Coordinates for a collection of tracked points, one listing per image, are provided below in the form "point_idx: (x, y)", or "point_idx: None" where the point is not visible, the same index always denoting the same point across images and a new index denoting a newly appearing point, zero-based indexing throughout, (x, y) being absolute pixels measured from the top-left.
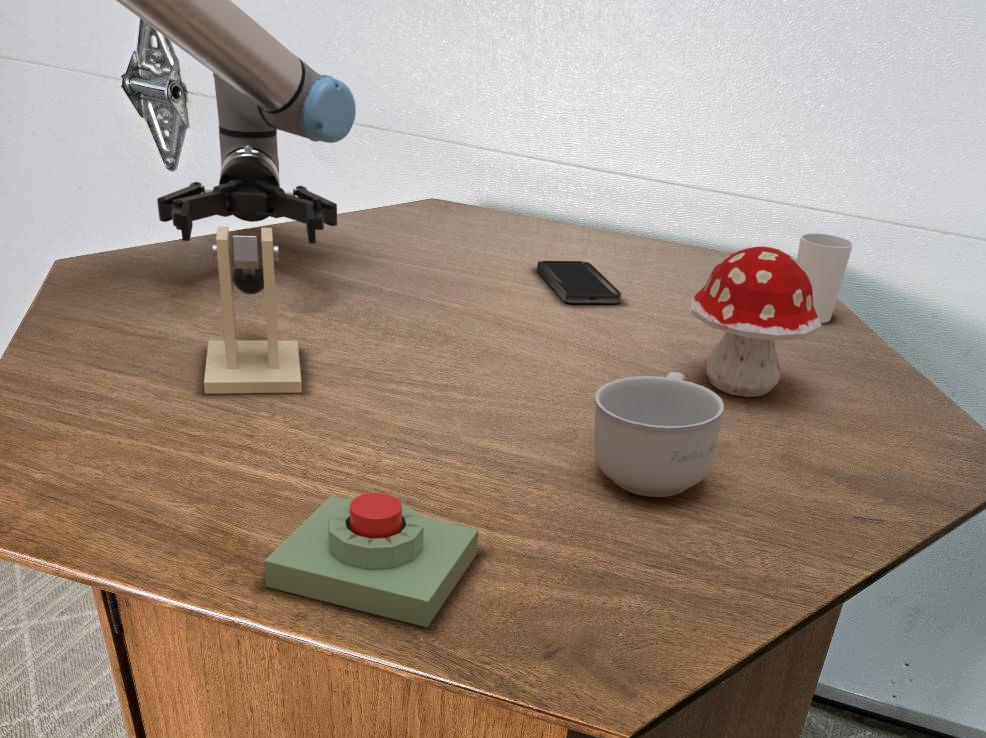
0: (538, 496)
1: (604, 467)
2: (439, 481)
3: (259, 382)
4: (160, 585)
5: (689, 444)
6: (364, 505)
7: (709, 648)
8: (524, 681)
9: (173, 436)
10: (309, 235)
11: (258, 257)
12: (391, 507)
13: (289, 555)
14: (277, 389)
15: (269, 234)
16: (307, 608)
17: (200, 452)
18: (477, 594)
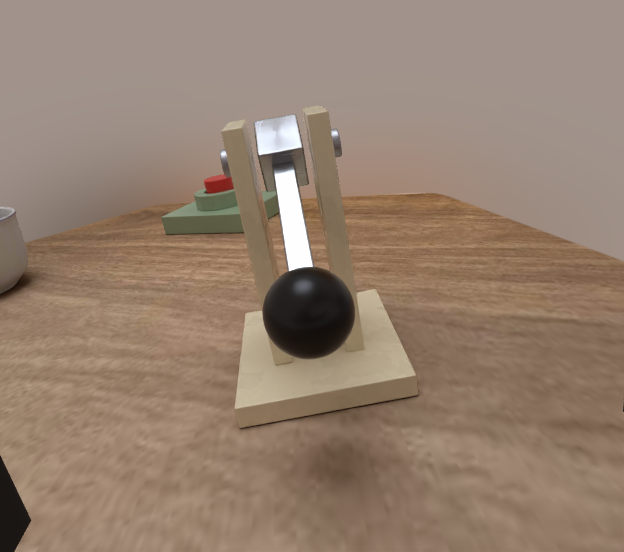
0: (89, 268)
1: (27, 259)
2: (154, 265)
3: None
4: (343, 198)
5: None
6: (224, 176)
7: (91, 226)
8: (183, 206)
9: (384, 257)
10: (11, 489)
11: (262, 174)
12: (210, 178)
13: (272, 192)
14: None
15: (230, 124)
16: None
17: (351, 250)
18: None
